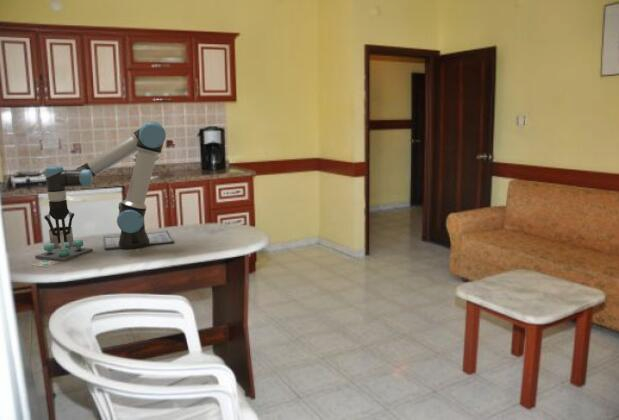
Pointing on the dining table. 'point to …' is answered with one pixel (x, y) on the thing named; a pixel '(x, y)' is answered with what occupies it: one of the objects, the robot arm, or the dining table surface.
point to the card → (45, 263)
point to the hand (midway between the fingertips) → (63, 249)
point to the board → (72, 254)
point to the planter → (54, 238)
